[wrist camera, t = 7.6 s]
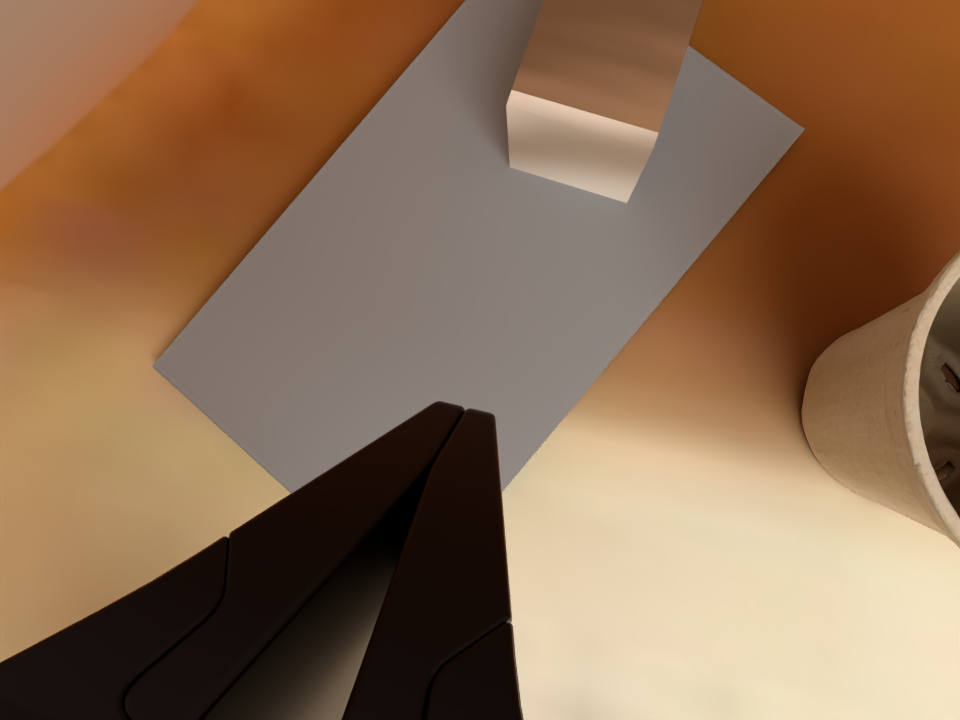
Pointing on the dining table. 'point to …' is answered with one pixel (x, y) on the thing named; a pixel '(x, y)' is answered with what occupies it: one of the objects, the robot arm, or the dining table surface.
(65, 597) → the dining table surface
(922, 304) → the flower pot
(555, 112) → the walnut block
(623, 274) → the rubber mat
